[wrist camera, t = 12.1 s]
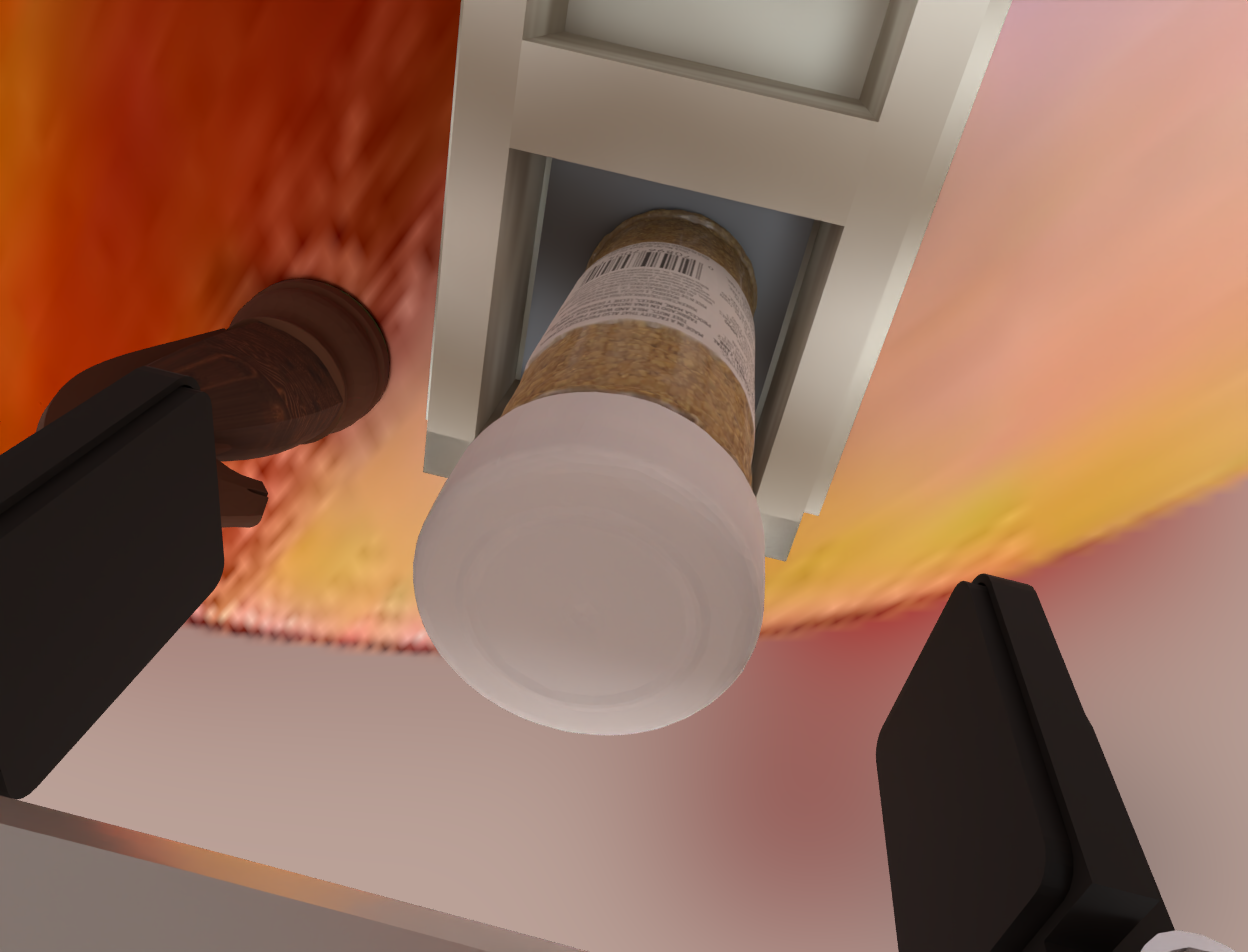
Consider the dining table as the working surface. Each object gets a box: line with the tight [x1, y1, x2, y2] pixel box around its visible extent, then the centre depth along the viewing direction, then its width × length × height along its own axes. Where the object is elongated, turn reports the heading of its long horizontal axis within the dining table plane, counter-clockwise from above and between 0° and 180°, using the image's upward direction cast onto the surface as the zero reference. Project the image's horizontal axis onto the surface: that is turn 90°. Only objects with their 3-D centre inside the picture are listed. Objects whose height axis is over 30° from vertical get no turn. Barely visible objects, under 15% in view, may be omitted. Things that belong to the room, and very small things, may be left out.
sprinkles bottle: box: [413, 209, 765, 735], centre depth 16 cm, size 5×5×14 cm
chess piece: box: [36, 279, 389, 528], centre depth 22 cm, size 5×5×10 cm
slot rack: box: [423, 0, 1012, 561], centre depth 19 cm, size 20×12×5 cm, turn 169°
